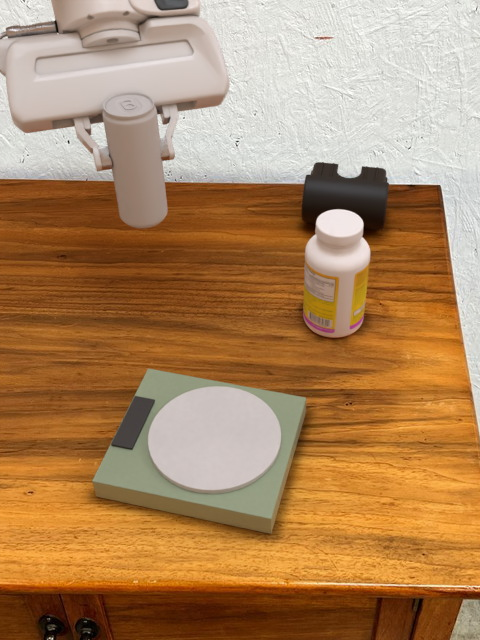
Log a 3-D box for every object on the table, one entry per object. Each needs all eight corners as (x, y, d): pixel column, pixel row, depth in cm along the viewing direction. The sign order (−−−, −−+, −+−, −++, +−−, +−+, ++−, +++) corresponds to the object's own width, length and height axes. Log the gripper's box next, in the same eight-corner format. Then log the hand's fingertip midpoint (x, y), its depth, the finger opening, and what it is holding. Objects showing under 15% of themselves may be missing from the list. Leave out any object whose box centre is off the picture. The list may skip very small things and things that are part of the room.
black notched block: (300, 235, 96) (302, 188, 91) (308, 203, 100) (310, 156, 96) (381, 244, 95) (387, 196, 90) (385, 211, 99) (391, 164, 95)
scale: (96, 496, 69) (90, 476, 66) (150, 384, 78) (147, 363, 76) (271, 534, 66) (271, 514, 64) (305, 413, 76) (306, 393, 73)
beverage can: (127, 235, 75) (109, 121, 67) (113, 209, 78) (94, 96, 70) (174, 224, 77) (163, 110, 68) (159, 198, 80) (146, 86, 71)
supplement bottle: (355, 296, 88) (365, 200, 78) (369, 336, 83) (382, 239, 74) (297, 303, 87) (300, 206, 78) (308, 343, 82) (313, 245, 73)
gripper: (-18, 13, 66) (18, 173, 67) (214, -12, 71) (246, 138, 72) (-8, 43, 73) (25, 189, 73) (205, 18, 77) (234, 156, 78)
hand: (136, 164), depth 72 cm, fingers closed on beverage can, 4 cm apart
